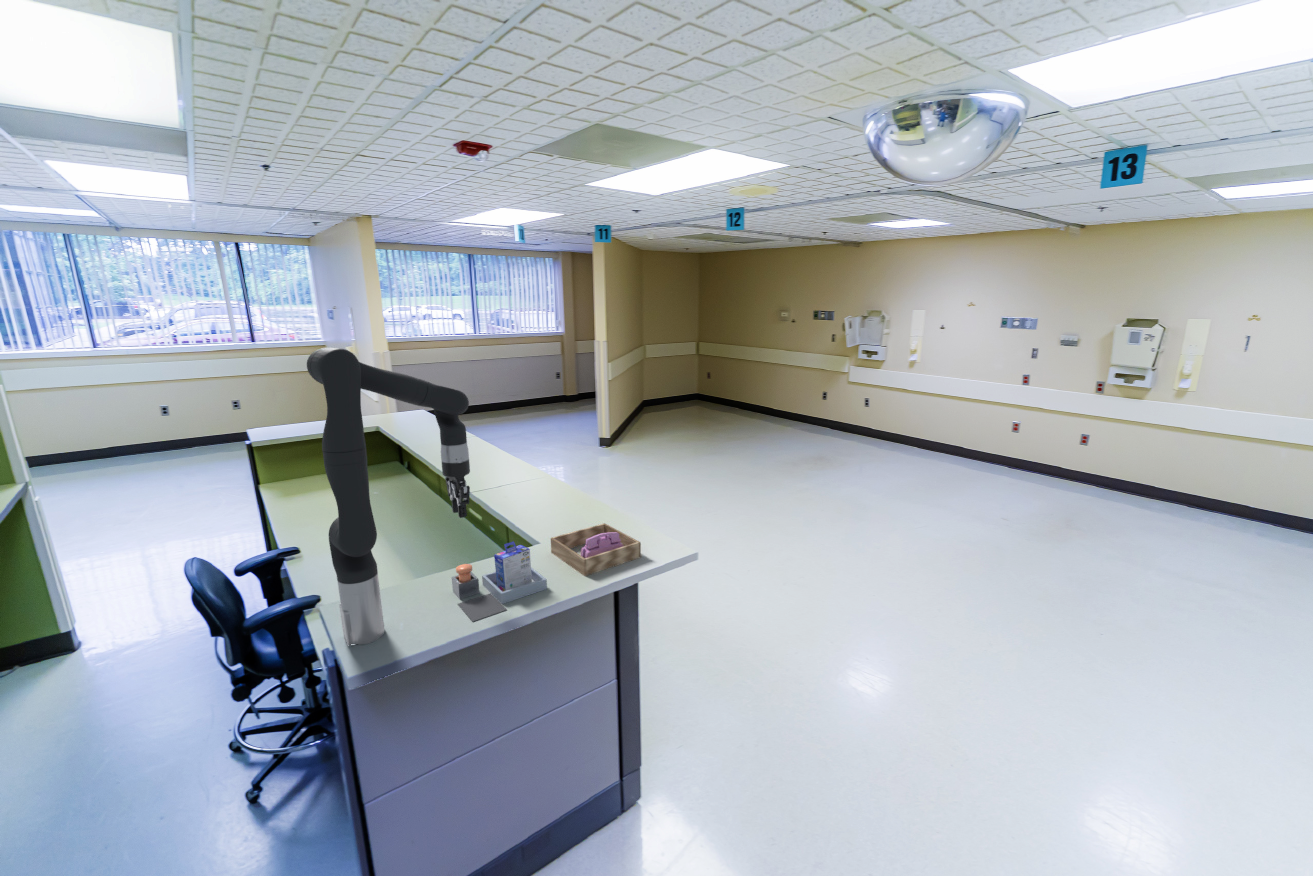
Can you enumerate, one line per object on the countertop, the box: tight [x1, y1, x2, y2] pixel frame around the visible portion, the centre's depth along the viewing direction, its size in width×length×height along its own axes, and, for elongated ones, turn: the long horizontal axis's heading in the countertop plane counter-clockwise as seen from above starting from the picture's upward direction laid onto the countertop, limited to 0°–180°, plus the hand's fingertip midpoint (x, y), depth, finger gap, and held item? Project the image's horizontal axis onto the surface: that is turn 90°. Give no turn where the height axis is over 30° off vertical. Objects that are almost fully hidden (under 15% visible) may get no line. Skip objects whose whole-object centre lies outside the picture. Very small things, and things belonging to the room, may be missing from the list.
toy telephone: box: [580, 532, 624, 558], centre depth 189 cm, size 18×6×10 cm, turn 123°
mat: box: [457, 592, 508, 623], centre depth 160 cm, size 10×12×1 cm
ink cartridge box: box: [493, 541, 533, 592], centre depth 170 cm, size 10×6×14 cm, turn 138°
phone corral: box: [550, 523, 642, 577], centre depth 194 cm, size 23×23×6 cm
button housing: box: [451, 571, 480, 600], centre depth 168 cm, size 6×6×5 cm
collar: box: [481, 566, 548, 605], centre depth 172 cm, size 15×15×4 cm
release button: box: [455, 563, 473, 583], centre depth 168 cm, size 5×5×8 cm
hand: (459, 514), depth 163 cm, fingers open, 4 cm apart
